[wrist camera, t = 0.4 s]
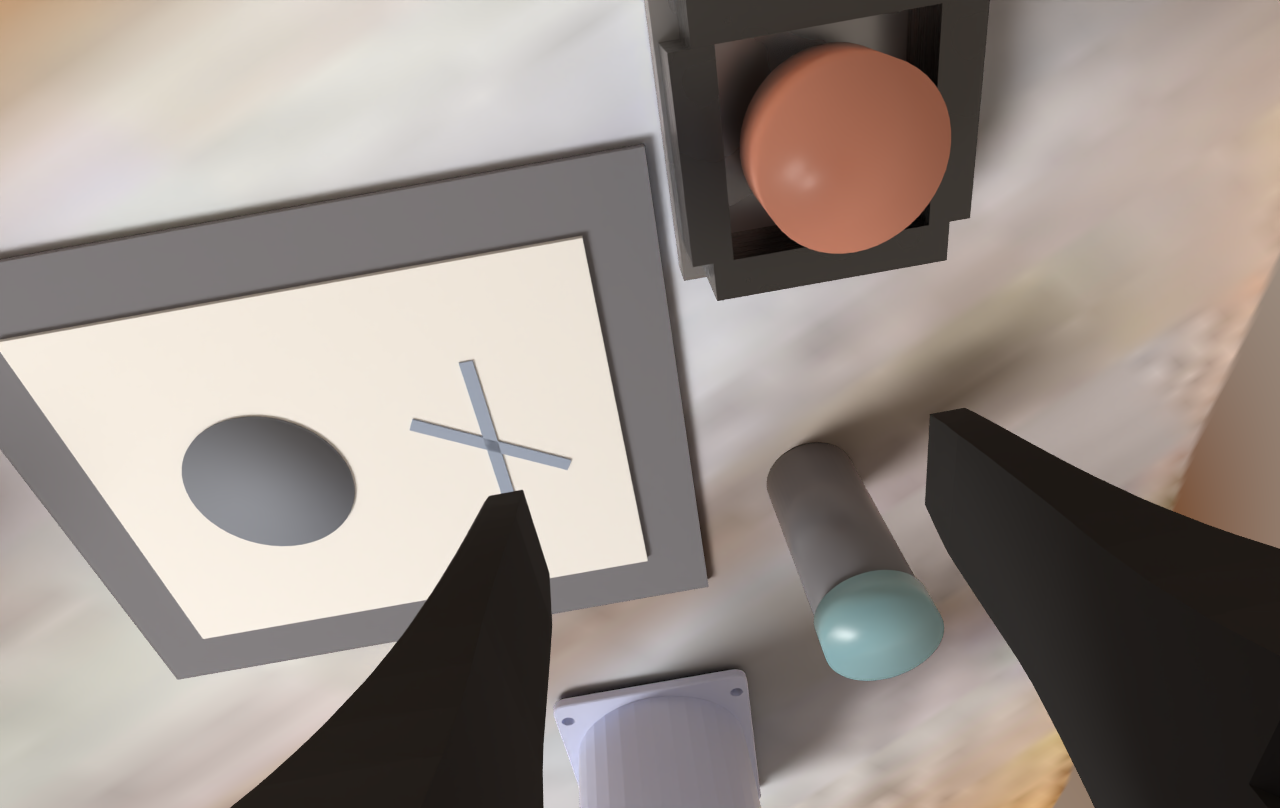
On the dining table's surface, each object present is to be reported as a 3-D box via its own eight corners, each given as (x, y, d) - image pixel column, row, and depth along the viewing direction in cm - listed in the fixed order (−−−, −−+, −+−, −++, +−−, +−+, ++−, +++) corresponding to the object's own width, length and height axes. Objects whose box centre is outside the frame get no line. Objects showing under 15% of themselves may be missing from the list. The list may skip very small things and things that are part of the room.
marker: (855, 505, 26) (939, 669, 21) (766, 521, 26) (825, 689, 21) (855, 432, 25) (948, 588, 19) (760, 449, 25) (823, 610, 19)
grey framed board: (707, 580, 28) (709, 592, 27) (181, 672, 28) (174, 686, 27) (643, 143, 19) (645, 149, 19) (-117, 280, 19) (-135, 289, 19)
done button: (908, 208, 18) (944, 236, 16) (746, 237, 18) (764, 267, 16) (916, 26, 16) (958, 37, 14) (732, 59, 16) (752, 74, 14)
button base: (923, 222, 21) (970, 259, 19) (679, 266, 21) (693, 309, 19) (940, -68, 17) (1000, -69, 15) (642, -14, 17) (654, -6, 15)
